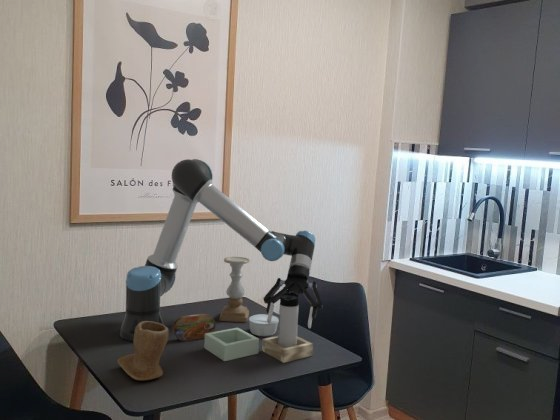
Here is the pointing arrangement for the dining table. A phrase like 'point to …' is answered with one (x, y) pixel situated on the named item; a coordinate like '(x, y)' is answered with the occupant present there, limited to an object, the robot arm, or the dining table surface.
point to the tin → (193, 326)
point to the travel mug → (288, 320)
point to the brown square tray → (287, 349)
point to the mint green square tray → (231, 344)
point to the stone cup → (146, 351)
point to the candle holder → (235, 293)
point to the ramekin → (263, 325)
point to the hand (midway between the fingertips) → (288, 324)
